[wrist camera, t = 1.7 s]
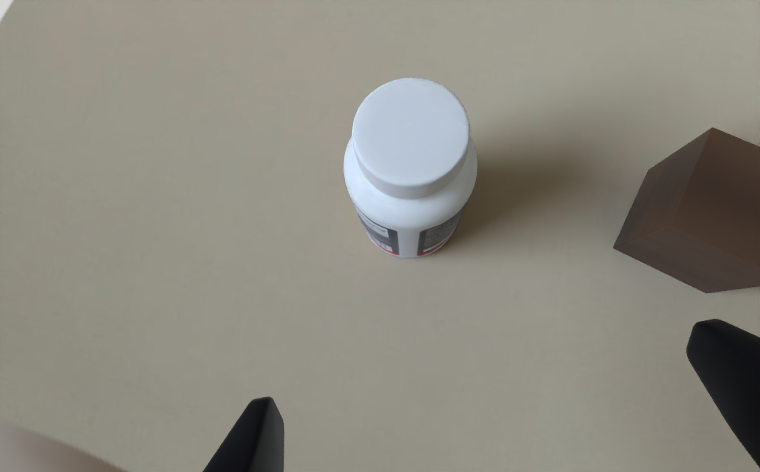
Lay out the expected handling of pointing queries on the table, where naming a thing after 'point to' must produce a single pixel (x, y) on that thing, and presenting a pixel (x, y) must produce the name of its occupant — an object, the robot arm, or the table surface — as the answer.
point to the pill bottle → (410, 166)
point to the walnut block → (700, 215)
